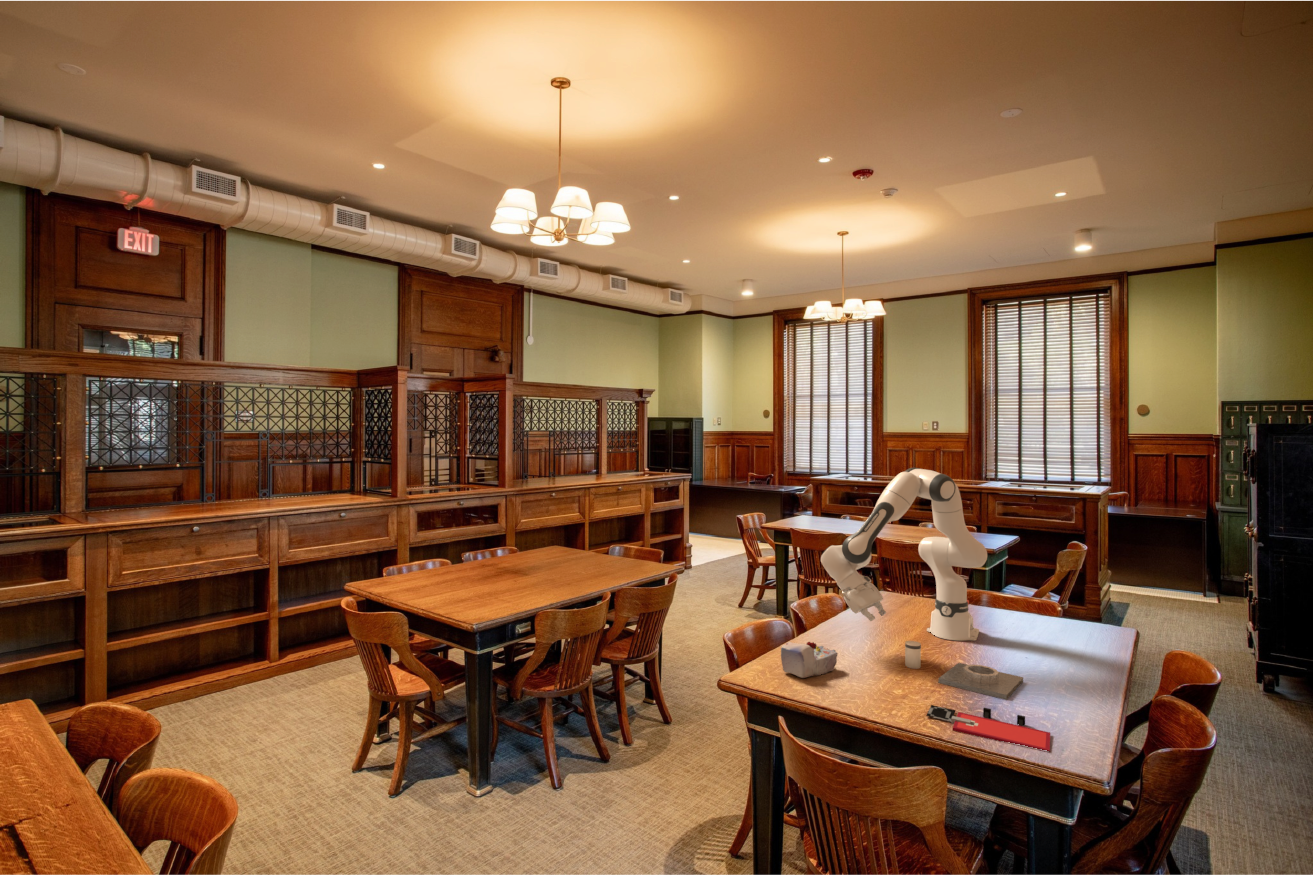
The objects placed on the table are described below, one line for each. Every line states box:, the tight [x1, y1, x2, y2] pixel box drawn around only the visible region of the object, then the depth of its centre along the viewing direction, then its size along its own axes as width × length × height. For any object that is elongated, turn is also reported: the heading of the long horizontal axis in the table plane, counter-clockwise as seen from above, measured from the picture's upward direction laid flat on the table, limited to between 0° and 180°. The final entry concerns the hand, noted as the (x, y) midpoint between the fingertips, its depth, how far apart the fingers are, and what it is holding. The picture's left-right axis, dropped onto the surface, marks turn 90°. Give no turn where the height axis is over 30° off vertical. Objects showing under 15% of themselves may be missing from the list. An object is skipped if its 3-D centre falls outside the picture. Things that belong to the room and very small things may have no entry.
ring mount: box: [938, 662, 1024, 701], centre depth 213 cm, size 20×20×4 cm
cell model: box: [780, 641, 839, 679], centre depth 221 cm, size 13×11×20 cm
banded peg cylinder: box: [904, 640, 922, 670], centre depth 227 cm, size 5×5×8 cm
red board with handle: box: [926, 704, 1051, 753], centre depth 180 cm, size 30×3×15 cm
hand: (878, 617), depth 235 cm, fingers open, 8 cm apart
